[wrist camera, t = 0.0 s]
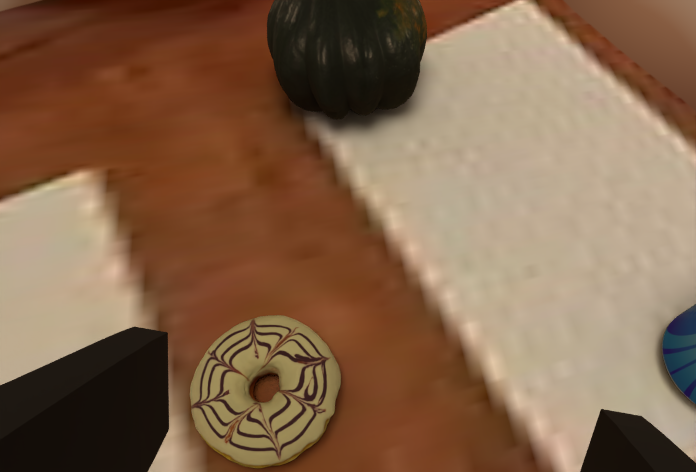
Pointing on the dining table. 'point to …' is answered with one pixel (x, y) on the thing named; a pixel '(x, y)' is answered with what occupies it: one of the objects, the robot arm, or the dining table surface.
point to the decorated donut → (286, 405)
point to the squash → (347, 52)
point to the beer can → (682, 352)
